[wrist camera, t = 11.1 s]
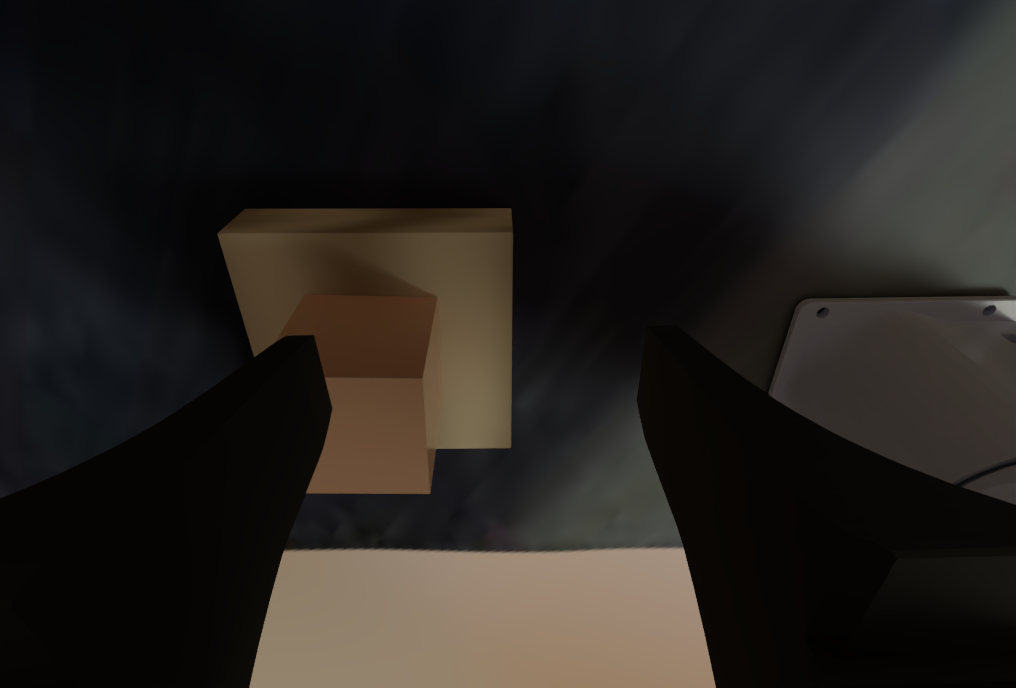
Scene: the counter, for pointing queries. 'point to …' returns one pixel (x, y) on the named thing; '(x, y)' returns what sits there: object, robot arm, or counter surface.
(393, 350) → the brown cube
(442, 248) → the oak block
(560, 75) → the counter surface
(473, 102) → the counter surface
